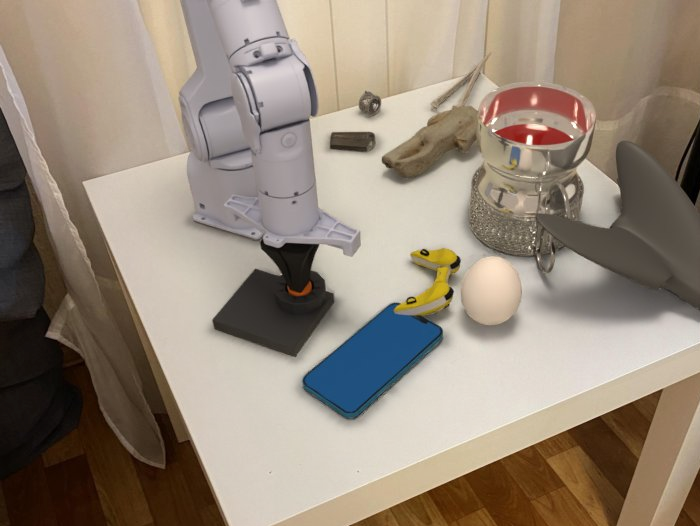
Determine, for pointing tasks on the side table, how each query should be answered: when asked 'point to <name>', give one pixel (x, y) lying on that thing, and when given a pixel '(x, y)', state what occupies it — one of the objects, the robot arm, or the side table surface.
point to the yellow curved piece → (440, 290)
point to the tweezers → (470, 85)
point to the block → (352, 141)
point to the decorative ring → (369, 103)
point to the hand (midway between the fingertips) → (299, 285)
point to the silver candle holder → (529, 165)
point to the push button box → (274, 312)
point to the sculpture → (434, 141)
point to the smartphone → (371, 360)
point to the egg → (491, 291)
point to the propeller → (642, 229)
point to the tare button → (304, 292)
